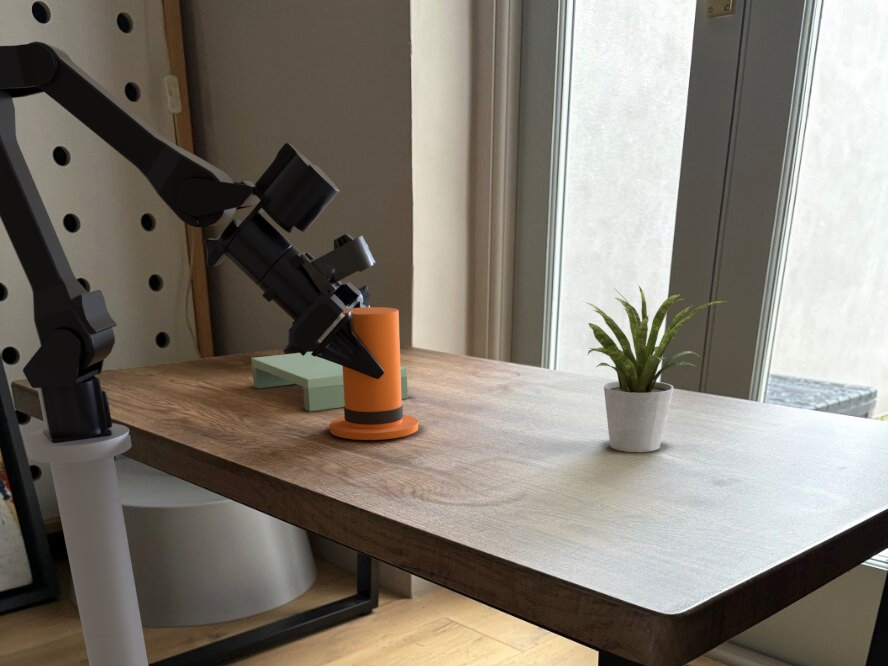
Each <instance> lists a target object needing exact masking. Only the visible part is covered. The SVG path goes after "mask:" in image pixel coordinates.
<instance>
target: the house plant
mask: <svg viewBox="0 0 888 666" xmlns="http://www.w3.org/2000/svg"><path fill="white" fill-rule="evenodd" d="M638 288H639V293H640V296H641V297H640V298H641V309H640V310H641V318H640V315H639V313H638V311H637V309H636V308H635V307H634V306H633V305H632V304H630V303H629V301H628V300H627V299H626V297H624V296H623V295H622V294H621V293H620V292H619V291H618V290H617V289H616V288H615V287H614V288H613V289H614V290H615V291H616V292H617V293H618V294H619V295H620V296H621V297H622V298H623V299H621V298H618V297H615V299H616V300H617V301H618V302H619V303H620V304H621V305H622V306H623V307H622V309H623V310H625V312H626V314H627V317H628V322H629V328H630V333H631V337H632V343H633V348H634V352H633V351H632V348H631V347H632V346H631V343H630V340H629V339H628V337H627V336H626V334H625V333H624V331H623V330H622V329H621V328H620V326H618V324H617V322H615V321H614V319H612V318H611V317H610V316H609V315H607V313H606V312H604V311H603V310H601V308H599V307H597V306H596V305H594V304H592V303H590V302H586V301H583V302H584V303H586V304H588V305H589V306H591V307H592V308H593V312H595V313H597V314H599V315H600V316H601V317H602V319H603V320H604V323H605V325H607V326H608V328H609V329H610V330H611V332H612V333H613V334H614V336H615V337H616V340H617V341H618V343H619V346H620V348H621V349H620V348H619V347H618V345H617V343H616V342H615V341H614V340H613V339H612V338H611V337H610V335H608V334H607V333H606V331H604V330H603V328H601V327H600V326H599V325H598V324H594V323H591V322H588V326H589V328H590V329H591V330H592V332H593V333H592V334H593V335H594V338H595V340H596V341H597V342H598V343H599V344H600V345H601V347H597V348H594V347H592V348H591V347H590V348H588V349H589V350H588V352H587V355H589V354H590V353H592V352H598V353H601V355H603V354H604V355H606V356H608V357H609V358H610V360H611V361H612V362H613V364H614V366H612V365H610V364H608V363H607V362H600V363H599V364H597V365H596V368H598V367H599V366H603V367H604V366H605V367H610V368H611V369H613V370H614V371H615V372H616V374H617V379H618V380H616V381H612V382H611V381H610V382H608V383H605V384H604V385H603V393H604V403H605V411H606V421H607V429H608V438H609V447H610V448H611V449H614V450H617V451H621V452H627V453H645V452H646V453H647V452H653V451H657V450H659V449H660V448H661V444H662V439H663V435H664V431H665V426H666V422H667V418H668V415H669V410H670V406H671V402H672V399H673V394H674V389H675V388H674V385H672V384H670V383H667V382H662V381H658V379H659V377H660V376H661V374H662V373H663V372H664V371H665V370H667V369H670V368H673V367H677V366H685V365H686V366H687V365H690V366H693V367H694V366H695V367H696V365H694V364H692V363H691V362H690V361H683V360H682V361H681V360H680V361H675V362H673V360H674V359H676V358H678V357H680V356H683V355H687V354H694V355H696V356H698V357H700V355H699V354H698V353H696V352H694V351H691V350H684V351H680V352H678V353H676V354H674V355H672V356H671V357H670V358H669V359H668V360H666V361H665V363H664V364H663V366H662V368H660V369H659V365H660V364H661V362H662V361H663V360H665V359H666V357H664V356H663V355H664V354H665V351H666V349H667V347H668V346H669V344H670V343H671V341H672V340H674V339H675V338H676V334H677V333H678V332H679V331H680V329H681V328H682V327H683V326H684V325H685V323H686V322H688V320H690V319H691V318H692V317H693V315H695V314H696V313H698V312H699V311H701V310H702V309H704V308H707V307H709V306H711V305H715V304H720V303H727V302H729V300H719V301H718V300H717V301H711V302H707V303H704V304H702V305H700V306H698V307H696V308H695V309H693V310H692V311H690V308H691V307H693V306H694V304H692V305H690V306H688V307H686V308H684V309H683V310H681V311H679V312H678V313H677V314H676V315H675V316H674V317H673V319H672V320H671V322H670V323H669V325H668V327H667V328H666V330H665V331H664V333H663V335H662V336H661V340H660V341H659V344H658V346H656V343H657V341H658V337H659V332H660V329H661V327H662V325H663V322H664V320H665V317H666V315H667V314H668V312H669V311H670V308H671V307H672V306H673V305H674V304H675V303H677V302H679V301H682V300H687V299H688V297H683V298H680V299H677V298H678V297H680V296H681V293H677V294H673V295H671V296H669V297H667V298H666V299H665V300H664V301H663V302H662V304H661V305H660V306H659V308H658V309H657V311H656V312H655V315H654V316H653V319H652V322H651V327H650V331H649V326H648V323H649V321H650V320H649V315H648V311H647V301H646V297H645V293H644V291H643V289H642V288H641V286H640V285H638ZM676 299H677V300H676ZM689 311H690V312H689ZM687 312H689V313H688V314H687V315H686V316H685V317H684V318H682V317H683V316H684V314H685V313H687ZM648 332H649V334H648ZM634 354H635V355H634ZM658 369H659V370H658Z"/></svg>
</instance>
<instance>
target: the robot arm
mask: <svg viewBox="0 0 888 666" xmlns="http://www.w3.org/2000/svg"><path fill="white" fill-rule="evenodd" d="M43 93H45V94H46V95H47V96H49V97H50V98H51V99H52V100H54V102H56V103H57V104H58V105H60V106H61V107H62V108H63V109H65V110H66V111H67V112H68V113H70V114H71V115H72V116H73V117H74V118H76V119H77V120H78V121H79V122H81V123H82V124H83V125H84V126H85V127H87V128H88V129H89V130H90V131H92V132H93V133H94V134H95V135H96V136H98V137H99V138H100V139H102V141H104V142H105V143H106V144H108V145H109V146H110V147H111V148H112V149H113V150H115V151H116V152H117V153H119V154H120V155H121V156H122V157H123V158H124V159H126V160H127V161H128V162H130V163H131V164H132V166H135V167H136V168H137V169H138V170H139V172H140V173H141V174H142V175H143V176H144V177H145V178H146V180H147V181H148V183H149V184H150V186H151V187H152V188H153V190H154V191H155V193H156V194H157V196H158V197H159V198H160V199H161V200H162V201H163V202H164V204H166V206H167V207H169V209H170V210H171V211H172V212H173V213H174V214H175V216H176V217H178V218H179V220H180V221H182V222H183V223H184V224H186V225H188V226H191V227H194V228H208V227H215V226H221V225H223V224H225V223H227V222H228V221H230V219H231V218H233V216H234V215H235V213H236V211H238V210H242V209H247V208H251V207H254V208H253V209H252V210H251V211H250V213H249V214H248V215H247V216H246V217H245V219H243V220H242V221H241V219H238V218H233V219H232V220H231V221H230V222H229V223H228V224H227V225H226V227H225V228H224V229H223V231H222V232H221V233H220V234H219V236H218V237H217V238H212V237H209V238H206V239H205V240H204V245H205V248H206V265H207V266H208V267H210V268H213V267H216V266H220V265H221V264H222V263H223V262H224V261H225V259H226V258H228V259H229V260H230V261H231V262H232V263H233V264H234V265H235V266H236V267H237V268H238V269H239V270H240V271H242V273H244V274H245V275H246V276H247V277H248V278H249V279H250V280H251V282H253V283H254V284H255V285H256V286H258V288H260V290H262V291H263V294H262V297H263V298H264V299H265V300H266V301H267V302H268V303H271V302H274V303H275V304H276V305H277V306H278V307H279V308H280V309H281V310H283V311H284V312H285V313H286V314H287V315H288V316H289V317H290V318H291V319H292V320H293V321H292V323H291V326H290V328H289V329H288V336H289V342H290V344H291V345H292V346H293V347H294V348H295V349H296V350H297V351H298V352H299V353H300V354H302V355H303V356H304V355H305V354H306V353H307V352H308V351H309V350H310V348H311V347H312V346H313V345H314V344H315V343H316V341H317V342H318V343H319V346H318V347H317V348H316V349H315V350H314V351H313V352H312V353H311V355H312V356H314V357H315V356H317V357H320V358H322V359H325V360H328V361H331V362H334V363H336V364H339V365H342V366H344V367H347V368H350V369H352V370H355V371H358V372H360V373H363V374H365V375H368V376H370V377H373V378H376V379H379V378H380V377H381V376H382V375H383V374H384V370H383V369H382V367H381V366H380V364H379V363H378V362H377V360H376V359H375V358H374V356H373V355H372V354H371V352H370V351H369V350H368V348H367V347H366V346H365V344H364V343H363V342H362V340H361V339H360V338H359V336H358V335H357V334H356V332H355V331H354V323H353V310H352V309H351V310H350V311H349V312H348V313H347V314H346V315H344V314H343V312H344V310H345V309H350V308H352V307H351V304H352V303H353V302H354V301H355V300H356V299H357V298H358V297H359V295H360V294H361V292H360V291H359V290H358V289H359V288H358V287H356V286H355V285H354V284H353V283H352V282H351V281H341V280H344V279H345V278H348V277H349V276H351V275H353V274H355V273H356V272H360V273H361V272H363V271H365V270H368V269H370V268H371V267H372V266H374V265H375V264H376V261H375V259H374V257H373V254H372V252H371V250H370V248H369V245H368V243H367V242H366V240H365V239H364V235H359V236H358V237H356V238H354V237H352V236H351V235H350V234H349V233H344V234H342V235H340V236H339V237H336V238H334V239H333V250H331V251H329V252H327V253H325V254H322V256H319V257H318V258H316V257H315V256H314V255H312V254H311V253H310V252H309V251H302V252H301V251H300V250H299V249H298V248H297V247H296V246H295V245H294V244H293V243H292V242H291V241H290V240H289V239H288V238H287V236H285V235H284V234H283V233H282V232H281V231H280V230H279V229H278V228H277V227H276V226H275V225H274V224H273V223H272V222H270V220H269V219H268V218H267V217H266V216H265V215H263V213H264V212H265V213H266V215H268V217H269V218H270V219H272V220H273V221H274V223H276V225H278V226H279V227H280V228H281V229H283V230H284V231H285V232H286V233H288V234H291V233H292V232H293V231H294V229H295V228H296V229H297V230H298V231H300V232H301V233H306V232H307V230H308V229H309V228H310V227H311V225H312V224H313V223H314V222H315V221H316V220H317V218H319V216H320V215H321V214H322V213H323V212H324V211H325V209H326V208H327V207H328V206H329V204H330V203H331V202H332V201H333V199H335V198H336V196H337V195H338V194H339V193H340V189H339V188H338V186H337V185H336V184H335V182H334V181H333V180H332V179H331V178H330V177H329V176H328V174H326V173H325V171H323V170H322V169H321V168H320V167H319V165H317V164H313V163H312V161H311V160H309V158H307V157H306V156H305V155H304V154H303V153H301V152H300V151H299V150H298V149H297V148H296V147H295V146H293V145H294V144H293V143H289V142H285V143H284V144H283V145H282V146H281V148H280V149H279V150H278V152H277V154H276V156H275V158H274V159H273V161H272V162H271V164H270V165H269V166H268V168H266V170H265V171H264V172H263V173H262V175H261V176H260V177H259V178H258V179H257V181H256V182H255V183H254V182H253V181H252V180H241V181H240V182H238V181H233V179H232V178H231V177H230V176H229V175H228V174H227V173H226V172H224V171H223V170H221V169H220V168H218V167H216V166H214V165H213V164H211V163H209V162H208V161H206V160H204V159H203V158H201V157H199V156H198V155H196V154H194V153H192V152H190V151H188V150H186V149H185V148H182V147H180V146H178V145H177V144H175V143H174V142H171V141H169V140H168V139H166V138H165V137H164V136H162V134H160V133H159V132H158V131H156V130H155V129H154V128H153V127H152V126H151V125H149V124H148V123H147V122H146V121H145V120H143V118H141V117H140V116H139V115H137V114H136V113H135V112H134V111H132V110H131V109H130V108H129V107H128V106H127V105H125V104H124V103H123V102H122V101H120V100H119V99H118V98H117V97H115V95H113V94H112V93H111V92H110V91H108V90H107V88H105V87H103V86H102V84H100V83H99V82H98V81H96V80H95V79H94V78H93V77H92V76H90V74H88V73H87V72H86V71H84V70H83V69H82V68H81V67H79V66H78V65H77V64H76V63H75V62H74V61H73V60H72V59H71V57H70V56H69V55H68V53H66V52H65V51H64V50H62V49H61V48H59V47H58V46H57V47H56V46H54V45H51V44H49V43H46V42H42V41H36V40H35V41H32V42H29V43H24V44H17V45H16V44H14V45H0V220H1V222H2V225H3V227H4V230H5V232H6V234H7V237H8V238H9V240H10V243H11V246H12V248H13V250H14V253H15V254H16V256H17V258H18V261H19V263H20V265H21V268H22V270H23V273H24V274H25V276H26V277H25V278H26V279H27V282H28V283H29V286H30V289H31V293H32V308H33V322H34V326H35V330H36V334H37V338H38V341H39V344H40V346H39V348H38V349H37V351H36V352H35V353H34V354H33V355H32V356H31V358H30V359H29V361H28V362H27V363H26V364H25V366H24V367H23V368H22V372H23V374H24V376H25V378H26V380H27V382H28V383H29V385H30V386H31V389H37V394H38V399H39V405H40V408H41V409H40V410H41V412H42V413H41V414H42V418H43V424H44V427H43V428H42V429H43V433H44V434H45V435H46V437H47V438H48V439H49V440H50V441H51V442H52V443H60V442H68V441H75V440H82V439H90V438H97V437H105V436H111V435H112V431H111V430H110V429H109V428H111V427H112V423H113V422H112V415H111V408H110V403H109V396H108V393H107V391H105V390H104V389H102V386H101V379H100V378H98V377H97V376H96V375H101V374H102V371H103V367H104V361H105V360H106V359H107V358H108V357H109V356H110V354H111V353H112V350H113V348H114V345H115V343H116V335H115V332H114V329H113V328H114V327H117V325H118V323H117V322H116V321H115V320H114V319H113V318H112V316H111V314H110V312H109V311H108V308H107V305H106V301H105V297H104V294H103V292H102V290H101V289H96V290H92V291H87V290H86V288H85V287H84V286H83V285H82V284H81V283H80V281H79V280H78V279H77V278H76V276H75V274H74V272H73V269H72V267H71V265H70V263H69V260H68V258H67V255H66V253H65V251H64V248H63V246H62V244H61V241H60V239H59V236H58V234H57V231H56V230H55V227H54V225H53V223H52V220H51V218H50V215H49V213H48V211H47V209H46V206H45V204H44V201H43V199H42V196H41V194H40V192H39V190H38V188H37V185H36V183H35V180H34V178H33V175H32V173H31V171H30V169H29V166H28V164H27V161H26V159H25V157H24V154H23V152H22V150H21V147H20V145H19V141H18V139H17V131H16V130H17V128H16V127H17V126H16V108H15V104H14V100H13V99H16V98H17V99H18V98H25V97H30V96H34V95H38V94H43ZM362 304H363V302H362V299H360V300H359V302H358V303H357V304H356V305H355V306H354V307H353V308H362ZM292 325H293V326H292Z"/></svg>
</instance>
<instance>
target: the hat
mask: <svg viewBox="0 0 888 666" xmlns="http://www.w3.org/2000/svg"><path fill="white" fill-rule="evenodd" d="M351 309H352V310H353V323H354V331H355V332H356V334H357V335H358V336H359V338H360V339H361V340H362V342H363V343H364V344H365V346H366V347H367V348H368V350H369V351H370V352H371V354H372V355H373V356H374V358H375V359H376V360H377V362H378V363H379V364H380V366H381V367H382V369H383V370H384V374H383V375H382V376H381V377H380V378H379V379H376V378H373V377H370V376H368V375H365V374H363V373H360V372H358V371H355V370H352V369H350V368H347V367H344V366H342V368H343V385H344V402H345V406H344V407H343V414H344V415H343V416H341V417H338V418H335V419H333V420H331V421H330V423H329V431H330V433H331V434H332V435H333V436H335V437H339V438H342V439H348V440H356V441H357V440H359V441H377V440H379V441H381V440H390V439H398V438H403V437H407V436H410V435H412V434H415V433H416V432H417V431H418V430H419V420H418V419H417V418H415V417H414V416H410V415H406V414H404V409H403V407H404V406H403V403H402V399H401V371H400V366H401V346H400V345H401V343H400V316H399V315H400V314H399V312H400V311H399V309H398V308H394V307H383V306H381V307H380V306H379V307H378V306H377V307H376V306H370V307H363V308H350V309H345V310H344V312H343V314H344V315H346V314H347V313H348V312H349V311H350V310H351Z"/></svg>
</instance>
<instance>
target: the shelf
mask: <svg viewBox="0 0 888 666" xmlns="http://www.w3.org/2000/svg"><path fill="white" fill-rule="evenodd" d="M311 353H312V352H307V353H306V354H305V355H304V356H303V355H302V354H300V353H294V354H285V353H284V354H276V355H266V356H257V357H251V358H250V360H251V361H250V362H251V369H252V370H251V371H252V380H253V387H254V388H256V389H264V388H273V387H280V386H290V385H297V386H299V387H303V388H302V389H303V402H304V403H303V404H304V410H305V411H308V412H317V411H325V410H330V409H331V410H332V409H339V408H344V406H345V402H344V385H343V368H342V365H339V364H336V363H334V362H331V361H328V360H325V359H322V358H320V357H317V356H315V357H314V356H312V355H311ZM400 371H401V400H406V399H409V389H408V388H409V387H408V386H409V385H408V367H406V366H403V365H400Z"/></svg>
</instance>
